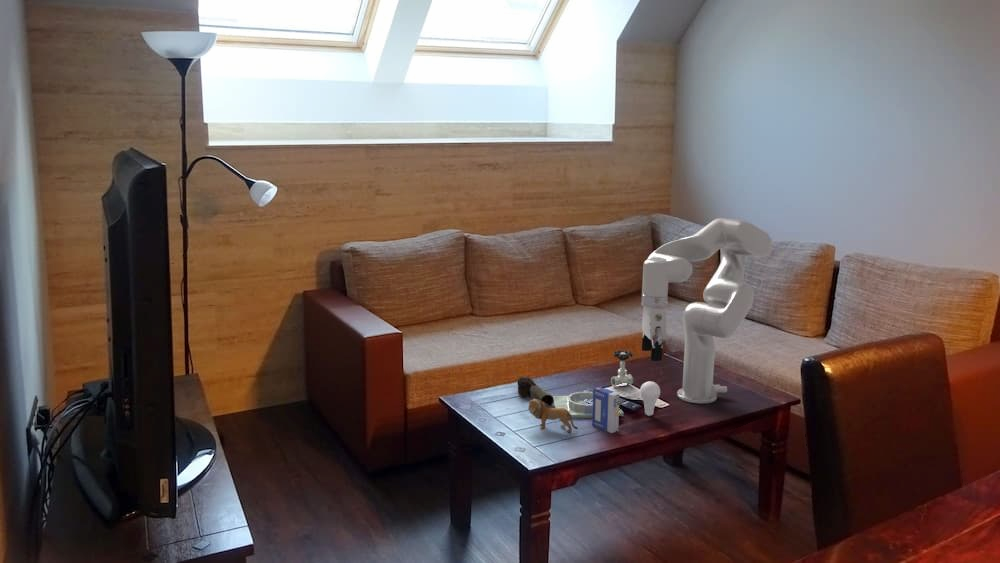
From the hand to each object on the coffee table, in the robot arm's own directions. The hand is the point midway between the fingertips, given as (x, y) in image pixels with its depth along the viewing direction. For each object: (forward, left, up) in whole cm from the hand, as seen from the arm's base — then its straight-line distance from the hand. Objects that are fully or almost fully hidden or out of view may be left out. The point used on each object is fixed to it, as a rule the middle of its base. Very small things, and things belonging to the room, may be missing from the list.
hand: (651, 355), depth 242 cm
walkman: (+15, +8, -20) cm, 26 cm away
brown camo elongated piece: (+33, -18, -20) cm, 43 cm away
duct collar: (+18, -8, -20) cm, 28 cm away
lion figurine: (+31, +7, -20) cm, 38 cm away
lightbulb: (0, 0, -20) cm, 20 cm away
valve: (+2, -26, -20) cm, 33 cm away
